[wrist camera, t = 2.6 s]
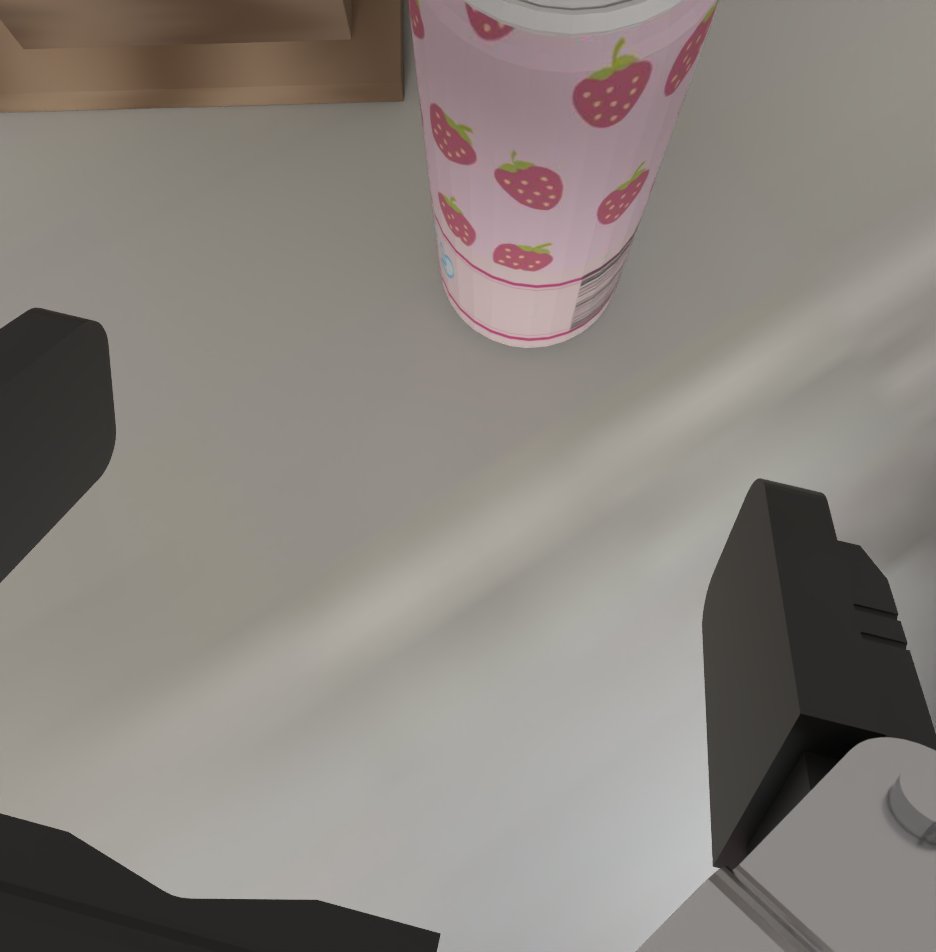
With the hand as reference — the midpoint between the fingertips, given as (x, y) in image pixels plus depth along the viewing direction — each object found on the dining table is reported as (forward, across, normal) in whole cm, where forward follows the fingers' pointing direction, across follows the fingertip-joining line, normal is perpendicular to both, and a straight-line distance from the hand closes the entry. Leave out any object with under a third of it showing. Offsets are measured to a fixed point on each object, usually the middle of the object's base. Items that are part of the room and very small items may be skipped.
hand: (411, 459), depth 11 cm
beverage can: (+18, 0, +5) cm, 19 cm away
